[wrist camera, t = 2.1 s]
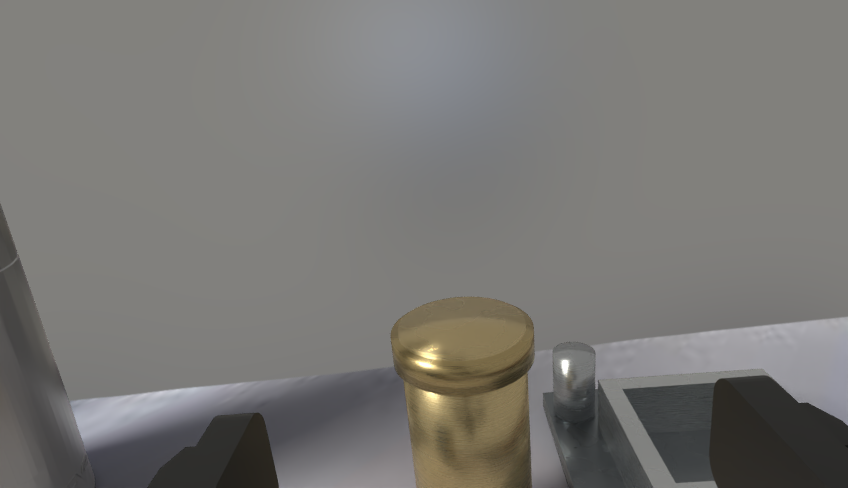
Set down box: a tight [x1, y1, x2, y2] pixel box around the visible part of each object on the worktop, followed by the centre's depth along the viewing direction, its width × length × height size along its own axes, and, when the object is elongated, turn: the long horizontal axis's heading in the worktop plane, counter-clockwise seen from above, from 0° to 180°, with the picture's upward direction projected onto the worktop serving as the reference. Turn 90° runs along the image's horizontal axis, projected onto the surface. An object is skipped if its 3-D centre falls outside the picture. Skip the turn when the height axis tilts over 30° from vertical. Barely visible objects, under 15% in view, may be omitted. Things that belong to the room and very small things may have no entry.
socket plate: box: [543, 342, 776, 488], centre depth 27 cm, size 14×16×5 cm
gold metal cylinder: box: [391, 297, 535, 488], centre depth 24 cm, size 6×6×12 cm
